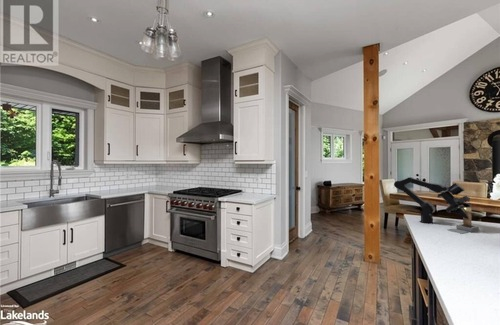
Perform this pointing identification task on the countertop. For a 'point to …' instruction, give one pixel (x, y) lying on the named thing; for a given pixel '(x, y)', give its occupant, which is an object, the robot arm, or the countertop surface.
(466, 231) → the pad
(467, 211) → the hook peg
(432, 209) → the robot arm
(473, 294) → the countertop surface
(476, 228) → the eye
